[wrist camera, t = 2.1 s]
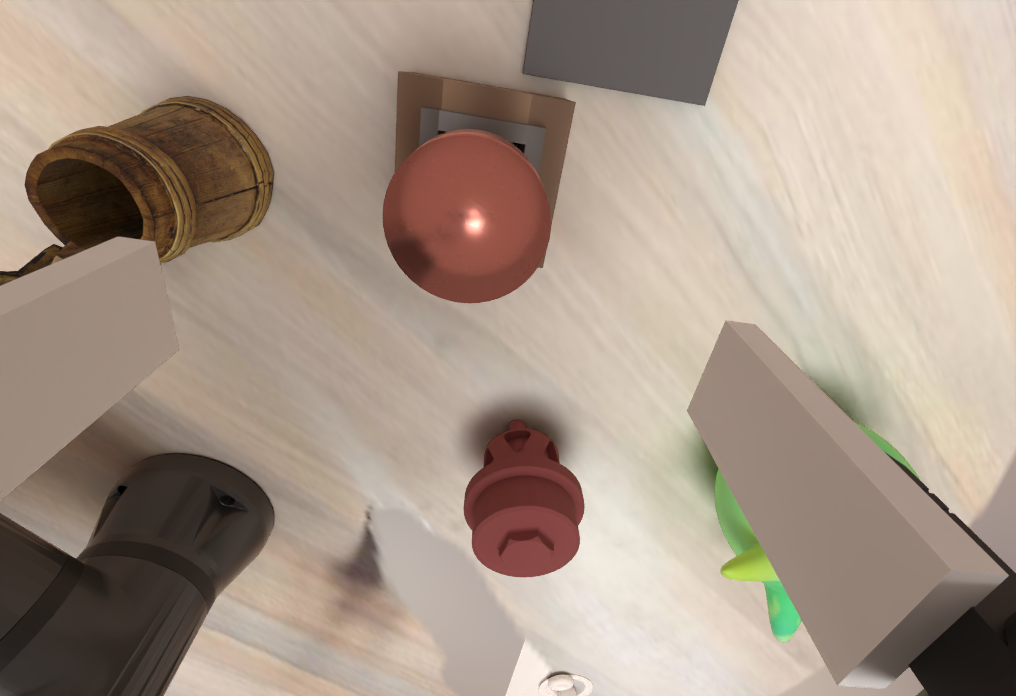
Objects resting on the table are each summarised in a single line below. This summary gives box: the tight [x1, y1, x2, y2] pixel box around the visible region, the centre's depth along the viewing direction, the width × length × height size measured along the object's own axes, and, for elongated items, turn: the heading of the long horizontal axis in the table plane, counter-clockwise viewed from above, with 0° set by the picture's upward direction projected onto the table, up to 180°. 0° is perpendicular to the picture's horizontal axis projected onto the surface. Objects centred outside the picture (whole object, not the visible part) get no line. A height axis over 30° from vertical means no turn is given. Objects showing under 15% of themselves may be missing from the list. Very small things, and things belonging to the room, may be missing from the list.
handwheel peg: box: [383, 129, 551, 303], centre depth 26 cm, size 7×7×16 cm
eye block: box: [395, 72, 576, 268], centre depth 31 cm, size 10×10×6 cm
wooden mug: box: [0, 96, 273, 286], centre depth 26 cm, size 9×14×18 cm, turn 139°
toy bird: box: [715, 422, 920, 643], centre depth 41 cm, size 18×17×15 cm
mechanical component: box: [464, 420, 584, 577], centre depth 41 cm, size 12×10×10 cm
